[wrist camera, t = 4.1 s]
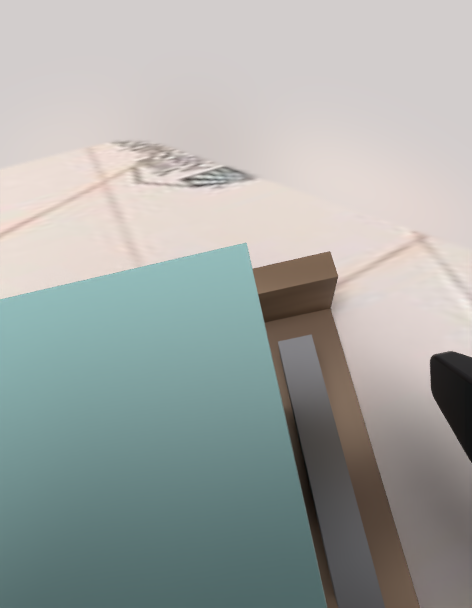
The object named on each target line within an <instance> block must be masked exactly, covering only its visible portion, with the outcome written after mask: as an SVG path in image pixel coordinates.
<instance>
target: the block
mask: <svg viewBox="0 0 472 608" xmlns="http://www.w3.org/2000/svg"><path fill="white" fill-rule="evenodd" d="M0 608H327V604H326V599H325V594H324V590H323V585H322V581H321V576H320V571H319V567H318V562H317V558H316V553H315V548H314V544H313V539H312V535H311V530H310V525H309V521H308V516H307V512H306V507H305V503H304V498H303V494H302V489H301V484H300V480H299V475H298V471H297V466H296V462H295V457H294V453H293V448H292V444H291V439H290V434H289V430H288V425H287V421H286V416H285V412H284V407H283V403H282V398H281V394H280V389H279V385H278V381H277V376H276V372H275V367H274V363H273V358H272V354H271V349H270V345H269V341H268V336H267V332H266V327H265V323H264V318H263V314H262V309H261V305H260V301H259V296H258V292H257V287H256V283H255V278H254V274H253V269H252V265H251V260H250V256H249V252H248V247H247V243H243V244H239V245H234V246H230V247H226V248H221V249H217V250H213V251H208V252H204V253H200V254H195V255H191V256H187V257H182V258H178V259H174V260H169V261H165V262H161V263H156V264H152V265H148V266H143V267H139V268H135V269H130V270H126V271H122V272H117V273H113V274H109V275H104V276H100V277H96V278H91V279H87V280H83V281H78V282H74V283H70V284H65V285H61V286H57V287H52V288H48V289H44V290H39V291H35V292H31V293H26V294H22V295H18V296H13V297H9V298H5V299H0Z"/></svg>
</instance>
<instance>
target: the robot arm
mask: <svg viewBox="0 0 472 608" xmlns="http://www.w3.org/2000/svg"><path fill="white" fill-rule="evenodd" d="M430 376H431V391H432V394H433V397H434V399H435V401H436V402H437V404H438V406H439V408H440V409H441V411H442V413H443V415H444V416H445V418H446V420H447V422H448V423H449V425H450V427H451V428H452V430H453V432H454V434H455V435H456V437H457V439H458V441H459V442H460V444H461V446H462V448H463V449H464V451H465V453H466V454H467V456H468V458H469V459H470V461H471V463H472V357H469V356H466V355H463V354H459V353H456V352H453V351H449V352H444V353H439V354H434V355H433V356H432V357H431V359H430Z"/></svg>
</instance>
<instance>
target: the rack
mask: <svg viewBox="0 0 472 608" xmlns="http://www.w3.org/2000/svg"><path fill="white" fill-rule="evenodd" d="M253 274H254V278H255V283H256V287H257V292H258V296H259V301H260V305H261V309H262V314H263V318H264V323H265V327H266V332H267V336H268V341H269V345H270V349H271V354H272V358H273V363H274V367H275V372H276V376H277V381H278V385H279V389H280V394H281V398H282V403H283V407H284V412H285V416H286V421H287V425H288V430H289V434H290V439H291V444H292V448H293V453H294V457H295V462H296V466H297V471H298V475H299V480H300V484H301V489H302V494H303V498H304V503H305V507H306V512H307V516H308V521H309V525H310V530H311V535H312V539H313V544H314V548H315V553H316V558H317V562H318V567H319V571H320V576H321V581H322V585H323V590H324V594H325V599H326V604H327V608H420V606H419V603H418V600H417V596H416V593H415V590H414V586H413V583H412V580H411V576H410V573H409V570H408V566H407V563H406V560H405V556H404V553H403V549H402V546H401V543H400V539H399V536H398V533H397V529H396V526H395V523H394V519H393V516H392V513H391V509H390V506H389V503H388V499H387V496H386V493H385V489H384V486H383V483H382V479H381V476H380V473H379V469H378V466H377V463H376V459H375V456H374V453H373V449H372V446H371V443H370V439H369V436H368V433H367V429H366V426H365V423H364V419H363V416H362V413H361V409H360V406H359V402H358V399H357V396H356V392H355V389H354V386H353V382H352V379H351V376H350V372H349V369H348V366H347V362H346V359H345V356H344V352H343V349H342V346H341V342H340V339H339V336H338V332H337V329H336V326H335V322H334V319H333V316H332V312H331V309H330V308H331V304H332V300H333V296H334V291H335V287H336V283H337V279H338V274H337V271H336V268H335V265H334V262H333V259H332V256H331V253H330V251H329V252H325V253H320V254H316V255H312V256H307V257H303V258H298V259H294V260H290V261H285V262H281V263H276V264H272V265H267V266H263V267H259V268H254V269H253Z"/></svg>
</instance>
